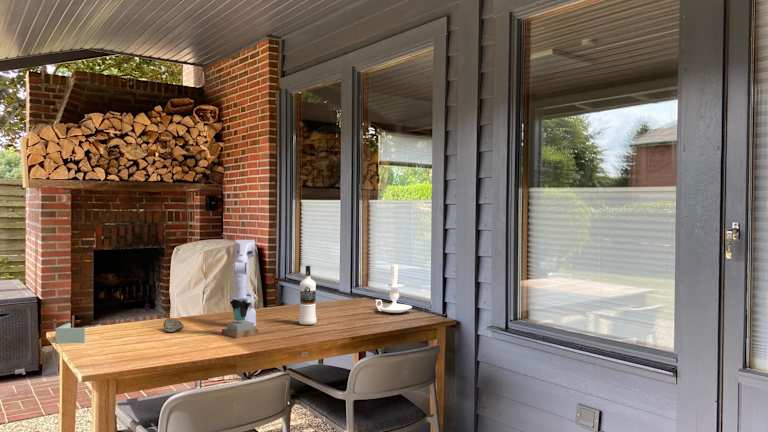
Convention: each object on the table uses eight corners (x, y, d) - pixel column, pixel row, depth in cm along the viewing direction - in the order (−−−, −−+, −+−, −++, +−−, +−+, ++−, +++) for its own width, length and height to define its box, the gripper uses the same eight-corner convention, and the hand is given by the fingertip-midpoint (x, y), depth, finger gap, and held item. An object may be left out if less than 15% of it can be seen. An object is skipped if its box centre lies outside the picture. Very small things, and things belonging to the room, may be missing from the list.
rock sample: (159, 324, 270) (168, 310, 277) (156, 333, 275) (165, 319, 282) (179, 334, 272) (188, 320, 278) (176, 342, 276) (185, 328, 283)
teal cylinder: (241, 318, 276) (241, 307, 276) (246, 319, 273) (246, 308, 273) (232, 319, 273) (232, 308, 273) (237, 320, 270) (238, 310, 269)
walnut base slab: (243, 331, 282) (243, 325, 282) (258, 335, 274) (258, 329, 274) (221, 335, 273) (221, 329, 273) (236, 339, 265) (236, 333, 265)
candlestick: (363, 312, 333) (363, 263, 333) (395, 307, 349) (395, 261, 349) (387, 317, 318) (387, 266, 317) (419, 312, 334) (419, 264, 334)
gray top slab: (243, 326, 280) (243, 320, 280) (253, 329, 273) (254, 322, 273) (226, 329, 273) (227, 322, 273) (237, 332, 267) (237, 325, 267)
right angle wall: (84, 345, 249) (84, 328, 249) (55, 345, 248) (55, 328, 248) (96, 339, 261) (96, 322, 261) (68, 339, 260) (68, 322, 260)
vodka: (318, 321, 304) (318, 264, 304) (314, 325, 295) (314, 266, 295) (301, 321, 305) (301, 264, 305) (296, 324, 296) (297, 266, 296)
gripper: (224, 287, 275) (223, 315, 275) (242, 289, 265) (242, 319, 265) (236, 285, 280) (236, 313, 280) (254, 288, 271) (254, 317, 271)
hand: (240, 316), depth 273 cm, fingers closed on teal cylinder, 5 cm apart
